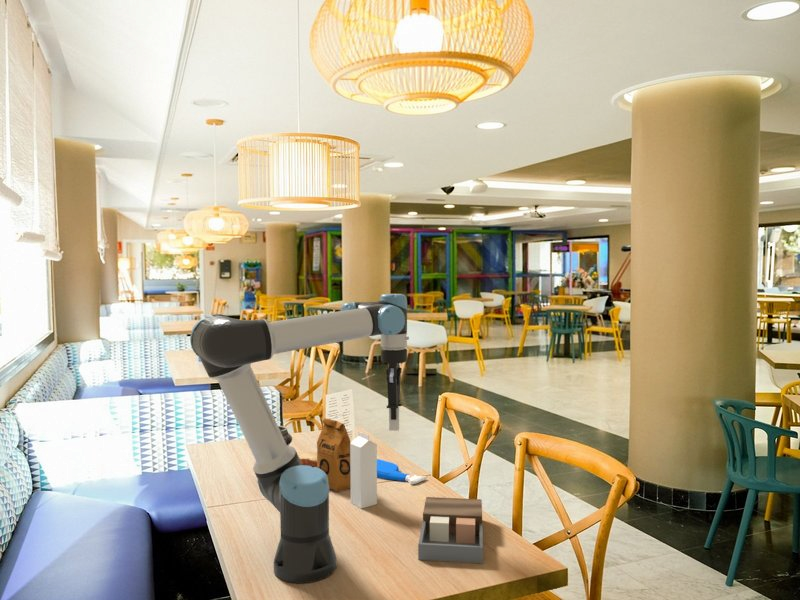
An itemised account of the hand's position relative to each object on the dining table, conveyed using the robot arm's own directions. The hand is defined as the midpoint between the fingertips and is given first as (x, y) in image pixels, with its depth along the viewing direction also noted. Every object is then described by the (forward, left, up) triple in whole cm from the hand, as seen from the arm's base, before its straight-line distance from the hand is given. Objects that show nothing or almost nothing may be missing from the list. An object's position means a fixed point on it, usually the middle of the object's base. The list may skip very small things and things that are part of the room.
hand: (394, 429), depth 173 cm
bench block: (-3, -17, -26) cm, 32 cm away
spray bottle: (+37, +6, -27) cm, 46 cm away
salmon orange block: (-10, -21, -23) cm, 33 cm away
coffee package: (+25, +23, -27) cm, 43 cm away
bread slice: (+48, +41, -27) cm, 69 cm away
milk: (+11, +11, -27) cm, 31 cm away
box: (-16, -17, -26) cm, 35 cm away
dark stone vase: (+28, +45, -27) cm, 59 cm away
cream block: (-9, -14, -23) cm, 29 cm away
